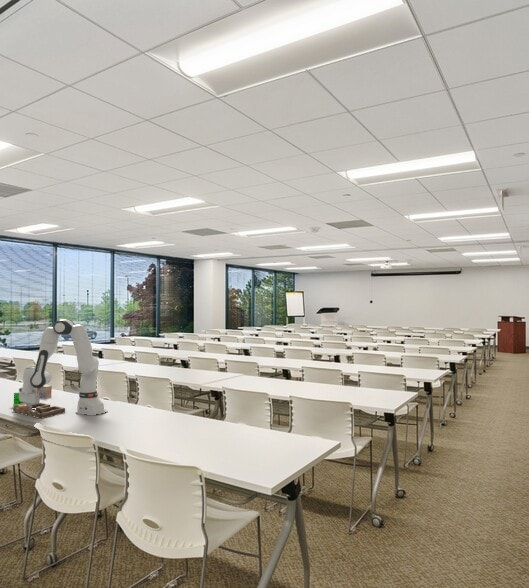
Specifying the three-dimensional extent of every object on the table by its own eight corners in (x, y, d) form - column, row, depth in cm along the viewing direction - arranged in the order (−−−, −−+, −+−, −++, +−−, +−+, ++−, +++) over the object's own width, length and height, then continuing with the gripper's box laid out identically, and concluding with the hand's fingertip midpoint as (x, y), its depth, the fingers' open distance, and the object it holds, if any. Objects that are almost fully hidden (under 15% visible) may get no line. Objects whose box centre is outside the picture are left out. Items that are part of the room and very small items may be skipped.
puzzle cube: (34, 403, 342) (34, 390, 342) (25, 406, 332) (26, 393, 332) (21, 403, 343) (22, 390, 343) (13, 406, 333) (13, 393, 333)
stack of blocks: (51, 396, 369) (52, 381, 370) (45, 398, 363) (45, 383, 364) (33, 394, 378) (34, 379, 378) (27, 395, 372) (27, 380, 372)
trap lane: (66, 412, 316) (66, 406, 316) (39, 418, 300) (39, 411, 300) (39, 406, 334) (39, 400, 334) (13, 411, 317) (13, 405, 317)
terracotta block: (31, 411, 319) (31, 405, 319) (23, 413, 314) (23, 407, 314) (25, 410, 323) (25, 404, 324) (17, 411, 318) (17, 405, 319)
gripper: (42, 390, 313) (41, 410, 313) (26, 387, 324) (25, 406, 324) (33, 392, 308) (32, 412, 308) (17, 388, 319) (16, 408, 319)
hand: (28, 409), depth 316 cm, fingers closed
